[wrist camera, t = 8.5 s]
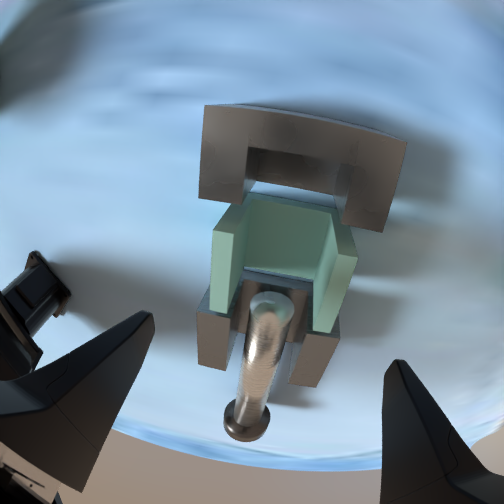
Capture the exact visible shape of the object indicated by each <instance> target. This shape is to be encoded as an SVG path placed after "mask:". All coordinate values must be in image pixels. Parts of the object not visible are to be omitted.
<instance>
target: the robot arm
mask: <svg viewBox="0 0 504 504" xmlns="http://www.w3.org/2000/svg"><path fill="white" fill-rule="evenodd" d="M70 297H71V294H70V292H69V291H68V290H67V289H66V288H65V287H64V286H63V284H62V283H61V282H60V281H59V280H58V279H57V278H56V277H55V276H54V274H53V273H52V272H51V271H50V270H49V269H48V268H47V266H46V265H45V264H44V263H43V262H42V261H41V259H40V258H39V257H38V256H37V254H36V253H35V252H34V251H32V252H31V253H29V256H28V259H27V263H26V266H25V270H24V271H23V272H22V273H21V274H20V275H19V276H18V277H17V278H15V279H14V280H13V281H12V282H11V283H10V284H9V285H8V286H7V287H6V288H4V289H3V290H2V291H0V504H63V503H62V501H61V498H60V496H59V493H58V489H59V487H60V484H61V483H63V484H65V485H67V486H69V487H71V488H73V489H75V490H77V491H79V492H81V493H82V491H83V489H84V487H85V485H86V482H87V480H88V478H89V476H90V473H91V471H92V469H93V466H94V464H95V462H96V460H97V458H98V455H99V452H100V451H101V449H102V446H103V444H104V442H105V440H106V438H107V436H108V434H109V431H110V429H111V427H112V425H113V423H114V421H115V419H116V417H117V415H118V413H119V411H120V409H121V407H122V405H123V403H124V401H125V399H126V397H127V395H128V393H129V391H130V389H131V387H132V385H133V383H134V381H135V379H136V377H137V375H138V373H139V371H140V369H141V367H142V364H143V362H144V359H145V356H146V354H147V351H148V348H149V346H150V343H151V341H152V338H153V335H154V332H155V326H154V319H153V315H152V313H150V312H147V311H144V310H142V311H139V312H138V313H136V314H134V315H132V316H131V317H129V318H127V319H126V320H124V321H122V322H121V323H119V324H117V325H115V326H114V327H112V328H110V329H109V330H107V331H105V332H103V333H102V334H100V335H98V336H97V337H95V338H93V339H92V340H90V341H88V342H86V343H85V344H83V345H81V346H80V347H78V348H76V349H75V350H73V351H71V352H70V354H69V353H68V354H66V355H64V356H63V357H61V358H59V359H57V360H55V361H54V362H52V363H50V364H48V365H46V366H44V367H42V368H40V369H37V370H35V368H36V366H37V364H38V362H39V360H40V358H41V356H42V354H43V351H42V350H41V348H39V347H38V346H37V344H36V343H35V342H34V340H33V339H32V337H33V336H34V335H35V334H36V333H37V331H38V330H39V329H40V328H41V327H42V326H43V325H44V323H45V322H46V321H47V320H48V319H49V318H50V317H51V316H52V315H53V316H54V317H55V318H57V317H58V316H59V315H60V313H61V311H62V310H63V308H64V306H65V305H66V303H67V302H68V300H69V298H70ZM34 370H35V371H34ZM380 504H504V476H502V475H498V474H495V473H492V472H490V471H489V470H487V469H486V468H485V467H484V466H483V465H482V463H481V462H480V461H479V460H478V458H477V457H476V456H475V455H474V454H473V453H472V451H471V450H470V449H469V447H468V446H467V445H466V444H465V442H464V441H463V440H462V438H461V437H460V435H459V434H458V433H457V431H456V430H455V428H454V427H453V426H452V425H451V423H450V421H449V420H448V418H447V417H446V415H445V414H444V413H443V411H442V410H441V408H440V407H439V406H438V404H437V403H436V401H435V400H434V399H433V397H432V396H431V394H430V393H429V392H428V390H427V389H426V388H425V386H424V385H423V383H422V382H421V381H420V379H419V378H418V377H417V375H416V374H415V373H414V371H413V370H412V369H411V367H410V366H409V365H408V364H407V362H406V361H405V360H400V359H395V360H394V361H393V362H392V364H391V365H390V366H389V368H388V369H387V371H386V372H385V375H384V386H383V403H382V477H381V493H380Z"/></svg>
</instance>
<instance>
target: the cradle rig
mask: <svg viewBox="0 0 504 504" xmlns="http://www.w3.org/2000/svg"><path fill="white" fill-rule="evenodd" d="M406 145H407V142H405V141H403V140H400V139H398V138H396V137H393V136H391V135H389V134H386V133H384V132H381V131H379V130H375V129H372V128H368V127H364V126H360V125H356V124H352V123H348V122H344V121H339V120H335V119H330V118H326V117H321V116H316V115H310V114H305V113H299V112H293V111H287V110H280V109H273V108H266V107H258V106H249V105H239V104H219V105H205V107H204V118H203V130H202V144H201V159H200V176H199V197H198V198H200V199H207V200H213V201H220V202H226V203H232V204H238V205H242V203H243V202H244V200H245V198H246V197H247V195H248V194H249V192H250V190H251V189H252V187H253V185H254V184H255V182H256V181H260V182H266V183H272V184H278V185H283V186H289V187H294V188H300V189H305V190H310V191H315V192H320V193H325V194H330V195H333V196H334V200H335V203H336V207H337V211H338V215H339V219H340V223H341V224H344V225H349V226H354V227H358V228H363V229H368V230H372V231H376V232H381V233H382V232H383V229H384V226H385V222H386V219H387V216H388V213H389V210H390V206H391V203H392V199H393V196H394V192H395V189H396V185H397V181H398V178H399V174H400V170H401V166H402V162H403V158H404V154H405V149H406ZM266 291H271V292H277V293H281V294H283V295H285V296H287V297H288V298H289V299H290V300H291V301H292V302H293V304H294V314H293V317H292V321H291V324H290V328H289V331H288V335H287V338H286V342H291V343H293V345H292V354H291V363H290V372H289V381H288V384H295V385H301V386H308V387H316V386H317V384H318V382H319V381H320V379H321V377H322V375H323V373H324V371H325V369H326V367H327V365H328V363H329V361H330V359H331V357H332V355H333V353H334V351H335V349H336V347H337V344H338V342H339V340H340V330H339V317H338V315H337V317H336V319H335V322H334V324H333V327H332V329H331V332H330V333H325V332H319V331H313V283H309V282H304V281H299V280H293V279H288V278H283V277H277V276H272V275H267V274H262V273H257V272H252V271H247V270H243V271H242V274H241V277H240V279H239V282H238V285H237V287H236V290H235V293H234V295H233V298H232V301H231V303H230V306H229V309H228V312H227V314H226V313H221V312H217V311H212V310H210V285H209V287H208V289H207V291H206V293H205V295H204V297H203V300H202V302H201V304H200V306H199V308H198V310H197V344H198V364H199V365H203V366H207V367H211V368H215V369H219V370H223V371H226V369H227V365H228V362H229V359H230V356H231V352H232V349H233V346H234V343H235V339H236V336H237V333H238V332H240V333H245V334H246V330H247V323H248V316H249V309H250V303H251V299H252V298H253V297H254V296H255V295H256V294H258V293H261V292H266Z"/></svg>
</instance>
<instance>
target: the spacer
mask: <svg viewBox="0 0 504 504" xmlns="http://www.w3.org/2000/svg"><path fill="white" fill-rule="evenodd" d="M357 261H358V255H357V251H356V248H355V244H354V241H353V237H352V234H351V231H350V227H349V225H344V224H341V223H340V219H339V215H338V211H337V209H335V208H330V207H325V206H321V205H316V204H311V203H306V202H300V201H295V200H290V199H284V198H279V197H273V196H268V195H262V194H256V193H250V192H249V194H248V195H247V197H246V198H245V200H244V202H243V203H242V205H238V204H231V205H230V206H229V208H228V209H227V211H226V212H225V214H224V215H223V216H222V218H221V219H220V221H219V222H218V224H217V225H216V226H215V228H214V229H213V237H212V257H211V280H210V310H212V311H217V312H221V313H226V314H227V312H228V309H229V306H230V303H231V301H232V298H233V295H234V293H235V290H236V287H237V285H238V282H239V279H240V277H241V274H242V271H243V269H244V266H245V267H250V268H255V269H260V270H265V271H271V272H276V273H281V274H286V275H291V276H297V277H302V278H307V279H313V331H319V332H325V333H330V332H331V329H332V327H333V324H334V322H335V319H336V317H337V315H338V312H339V309H340V307H341V304H342V302H343V299H344V297H345V294H346V291H347V289H348V286H349V283H350V280H351V278H352V275H353V272H354V269H355V266H356V263H357Z"/></svg>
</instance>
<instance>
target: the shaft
mask: <svg viewBox="0 0 504 504" xmlns="http://www.w3.org/2000/svg"><path fill="white" fill-rule="evenodd" d="M293 314H294V304H293V302H292V301H291V300H290V299H289V298H288V297H287V296H285V295H283V294H281V293H277V292H271V291H266V292H261V293H258V294H256V295H255V296H254V297H253V298H252V299H251V303H250V309H249V316H248V323H247V330H246V336H245V343H244V350H243V356H242V363H241V370H240V376H239V383H238V389H237V396H236V399H234V400H232V401H231V402H230V403H229V404H228V405H227V407H226V408H225V412H224V422H223V424H224V428H225V431H226V432H227V434H228V435H229V436H230V437H232V438H233V439H235V440H238V441H241V442H251V441H255V440H257V439H259V438H260V437H262V436H263V435H264V433H265V431H266V429H267V427H268V424H269V422H270V412H269V409H268V408H267V406H266V402H267V399H268V396H269V393H270V390H271V386H272V383H273V380H274V377H275V374H276V371H277V368H278V364H279V361H280V358H281V355H282V351H283V348H284V345H285V341H286V338H287V335H288V331H289V328H290V324H291V321H292V317H293Z"/></svg>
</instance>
